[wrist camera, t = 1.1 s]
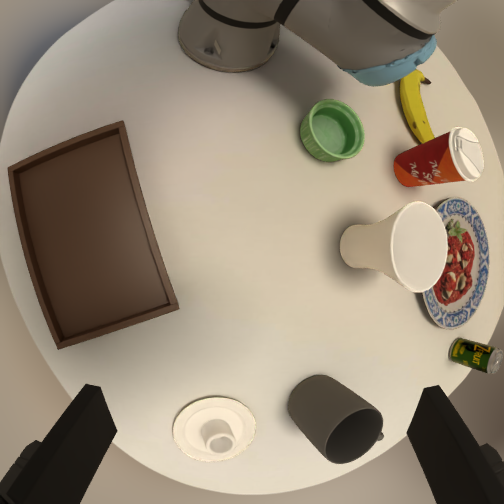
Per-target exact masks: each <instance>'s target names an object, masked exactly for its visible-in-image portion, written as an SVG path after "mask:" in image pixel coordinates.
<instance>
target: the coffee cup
mask: <svg viewBox="0 0 504 504" xmlns="http://www.w3.org/2000/svg"><path fill="white" fill-rule="evenodd" d="M476 142H477V143H476ZM483 169H484V159H483V153H482V149H481V147H480V144H479V142H478V140H477V138H476V136H475V135H474V134H473V133H472V132H471V131H470V130H469V129H467V128H461V127H454V128H452V130H451V131H450V132H448V133H446V134H443V135H441V136H439V137H436V138H434V139H432V140H429V141H427V142H425V143H423V144H420V145H418V146H416V147H414V148H411V149H409V150H407V151H405V152H403V153H401V154H399V155H398V156H397V157H396V158H395V160H394V172H395V175H396V177H397V179H398V181H399V182H400V183H401V184H402V185H404V186H406V187H414V186H423V185H431V184H440V183H448V182H457V181H468V182H474V181H475V180H476V179H477V178H478V177H480V176H481V174H482V172H483Z"/></svg>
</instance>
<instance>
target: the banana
mask: <svg viewBox="0 0 504 504" xmlns="http://www.w3.org/2000/svg"><path fill="white" fill-rule="evenodd" d="M420 81H422V82H424V83H426V84H431V82H430V81H429V80H428V79H427V78H425V77H424V76H423V74H422V72H421V71H419V70H417V69H415V70H414V71H413V72H411V73H410V74H408V75H407V76H405V77H403V78H401V81H400V86H399V88H400V100H401V104H402V108H403V112H404V115H405V117H406V120H407V122H408V124H409V127H410V128H411V130H412V132H413V133H414V135H415V136H416V137H417V139H418V140H419V141H420V142H421V143H422V144H423V143H425V142H427V141H429V140H432V139H434V138H435V137H434V135H433V133H432V130H431V128H430V125H429V122H428V119H427V116H426V112H425V109H424V106H423V102H422V99H421V95H420Z"/></svg>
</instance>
